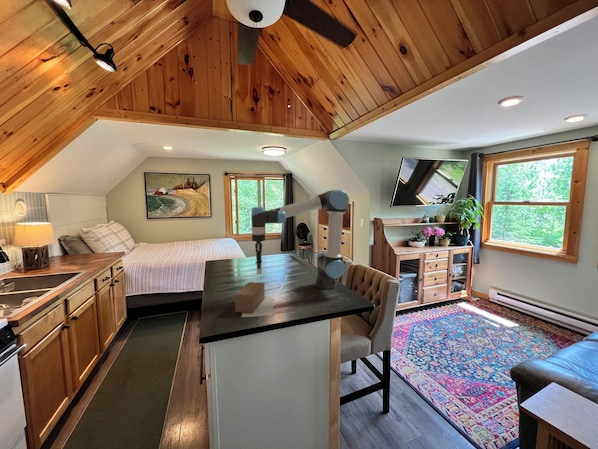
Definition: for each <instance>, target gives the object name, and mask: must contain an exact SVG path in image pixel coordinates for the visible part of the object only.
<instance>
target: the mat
mask: <svg viewBox="0 0 598 449" xmlns="http://www.w3.org/2000/svg"><path fill="white" fill-rule="evenodd" d="M268 316H269V317H270V316H271V317H272V316H273V317H274V298H264V300H263V301H262V302H261V304H260V305H259V306H258V307H257V308H256V310H255V311H254V312H253V313H243V312H241V318H249V317H250V318H251V317H253V318H254V317H268Z"/></svg>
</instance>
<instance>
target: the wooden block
mask: <svg viewBox="0 0 598 449" xmlns="http://www.w3.org/2000/svg"><path fill="white" fill-rule="evenodd" d="M234 294H235V295H234V307H235V308H234V310H235V312H236V313H242V312H243V313H253V312H254V311H255V310H256V308H257V307H258V306H259V305H260V304H261V302H262V301H263V300H264V299H266V298H265V283H264V282H253V281H250V282H248V283H245V285H243V287H242V288H240V289H239V290H238V291H237V292H236V293H234Z"/></svg>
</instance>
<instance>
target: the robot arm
mask: <svg viewBox="0 0 598 449" xmlns="http://www.w3.org/2000/svg"><path fill="white" fill-rule="evenodd" d="M349 204H350V197H349V195H348V193H347V192H346V191H344V190H342V189H332V190H328V191H325V192H323V193H320V194H317V195H315V196H314V197H312V198H308V199H305V200H301V201H298V202H295V203H290V204H287V205H284V206H280V207H277V208H273V209H269V210H266V208H265V207H263V206H262V207H259V206H256V207H252V208H251V228H250V231H251V233H252V234H251V240H252V241H253V242H256V243H255V244H254V248H255V254H256V259H255V260H256V261H255V264H256V274H257V275H262V274H263V273H262V270H263V269H262V263H263V259H262V252H263V243H262V242H264V241H266V224H279V225H280V224H285V223H286V219H287V218H290V217H294V216H297V215H300V214H305V213H308V212H311V211H315V210H323V209H324V210H325V209H326V213H327V214H328V223H327V224H328V225H327V226H328V228H327V242H326V243H327V244H326V245H327V247H326V251H321V252H318V253H317V254H316V258H317V259H316V260H317V261H316V265H317V266H316V273H317V274H316V277H315V279H314V287H316V288H318V289H322V290H328V289H329V290H330V289H331V288H332V289H334V288H337V279H338V278H341V277H342V276H343V275H344V273H345V271H346V265H345V263H344V255H343V254H342V252H341V251H342V237H343V236H342V235H343V220H344V214H346V212H347V208H348V206H349Z"/></svg>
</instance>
